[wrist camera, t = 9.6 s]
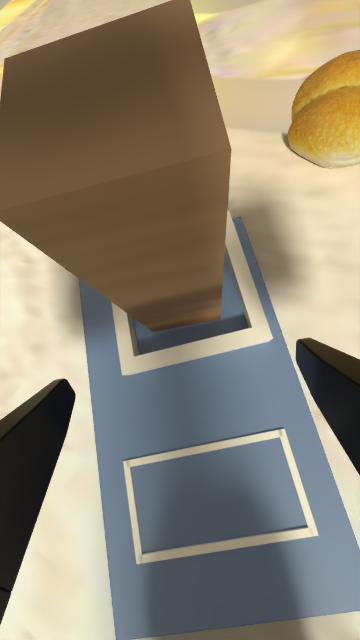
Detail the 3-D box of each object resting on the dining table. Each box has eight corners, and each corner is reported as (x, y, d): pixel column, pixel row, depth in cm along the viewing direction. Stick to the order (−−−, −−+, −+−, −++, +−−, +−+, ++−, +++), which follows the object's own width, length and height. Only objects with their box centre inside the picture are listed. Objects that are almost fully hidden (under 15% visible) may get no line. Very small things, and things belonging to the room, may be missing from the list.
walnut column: (220, 319, 16) (230, 149, 4) (152, 331, 17) (-11, 213, 5) (207, 257, 17) (188, -6, 5) (145, 271, 18) (4, 58, 6)
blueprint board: (369, 593, 12) (399, 634, 10) (121, 626, 13) (105, 668, 11) (239, 223, 19) (242, 205, 17) (82, 269, 20) (68, 257, 18)
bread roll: (281, 173, 20) (296, 122, 16) (292, 95, 21) (308, 34, 18) (391, 176, 18) (439, 121, 14) (392, 92, 20) (435, 23, 16)
